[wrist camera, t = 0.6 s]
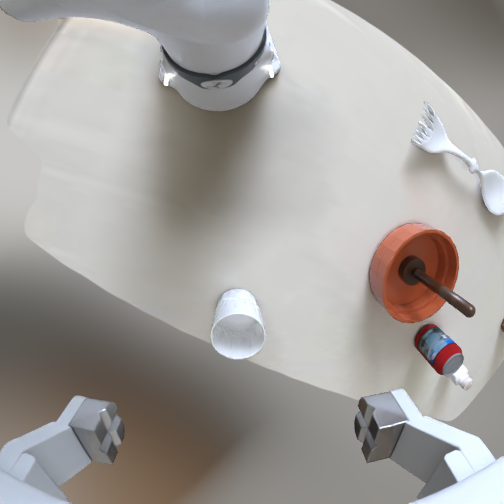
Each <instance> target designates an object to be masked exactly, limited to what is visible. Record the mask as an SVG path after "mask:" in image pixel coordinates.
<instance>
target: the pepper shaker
mask: <svg viewBox="0 0 504 504" xmlns="http://www.w3.org/2000/svg"><path fill="white" fill-rule="evenodd" d="M448 377H449V378H450V379H451V380H452V382H453V383H454V384H455V385H459V384H460V386H461V387H462V388H463V390H464V391H465V390H468V389H469V388H470V387H471V386H472V384H473V380H472V379H471V378H470V377H469V376H468V371H467V369H466V368H465V367H464V366H463V365H461V367H460V368H459V369H458V370H457V371H456V372H455V373H454V374H453V375H451V376H448Z"/></svg>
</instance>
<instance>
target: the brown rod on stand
mask: <svg viewBox="0 0 504 504" xmlns="http://www.w3.org/2000/svg"><path fill="white" fill-rule="evenodd" d="M425 272H426V266H425V263H424V262H423V260H421V259H419V258H418V257H416V256H408V257H406V258H405V259H404V260H403V261H402V262H401V264H400V266H399V270H398V273H399V277H400V279H401V280H402V281H403V282H405V283H406V284H407V285H410V286H413V285H416V284H418V283H419V282H421V283H422V284H423V285H425V286H426V287H428V288H429V289H430V290H432V291H433V292H435V293H436V294H437V295H439V296H440V297H441V298H443V299H444V300H445V301H447V302H448V303H449V304H451V305H452V306H453V307H455V308H456V309H457V310H459V311H460V312H461V313H463V314H464V315H465V316H466V317H469V318H470V317H472V316H474V314H475V307H474V306H473V305H472V304H470V303H469V302H467V301H466V300H464V299H463V298H462V297H460V296H459V295H457V294H456V293H454V292H453V291H451V290H450V289H448V288H447V287H445V286H444V285H442V284H441V283H439V282H438V281H436V280H435V279H433V278H432V277H430V276H429V275H427V274H426V273H425Z"/></svg>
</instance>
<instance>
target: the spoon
mask: <svg viewBox="0 0 504 504" xmlns="http://www.w3.org/2000/svg"><path fill="white" fill-rule="evenodd" d="M424 104H425V105H426V107H427V108H428V110H429V112H430V113H429V112H428V111H427V110H425V109H424V108H423V111H424V112H425V114H426V115H427V117H428V119H427V118H426V117H425V116H424V115H423V114H421V116H422V118H423V119H424V121H425V122H426V124H427V125H428V127H427V126H426V125H424V124H423V123H422V122H418V123H419V125H420V127H421V128H422V130H423V131H424V133H425V134H426V135H425V134H423V133H422V132H421V131H419V130H418V129H416V131H417V132H418V134H419V135H420V136H421V137H422V138H423V139H424V140H423V139H422V138H420V137H419V136H417V135H416V134H414V136H415V137H416V138H417V140H418V141H419V142H420V143H418V142H417V141H415V140H412V139H411V142H412V143H413V144H415V145H416V146H418V147H419V148H421V149H423V150H425V151H427V152H429V153H432V154H436V153H441V152H447V153H451V154H453V155H455V156H457V157H459V158H460V159H462V160H463V161H464V162H465V163H466V164H467V165H468V167H469V171H470V172H471V173H472V174H473V173H474V172H477V174H478V176H479V178H480V184H481V192H482V197H483V200H484V203H485V205H486V207H487V208H488V209H489V211H490V212H491V213H493V214H494V215H498V216H500V215H503V214H504V177H503V176H502V175H501V174H500V173H498V172H497V171H495V170H488V171H485V172H482V171H481V170H480V169H479V168H478V166H477V161H476V160H475V159H470V158H468V157H467V156H466V155H465V154H464V153H462V152H461V151H460V150H459V149H457V148H456V147H455V146H454V145H453V144H452V143H451V142H450V141H449V139H448V138H447V135H446V133H445V130H444V127H443V124H442V122H441V121H440V119H439V118H438V116H437V115H436V113H435V111H434V110H433V108H432V107H431V105H430V104H429V103H428V102H426V101H424Z"/></svg>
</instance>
